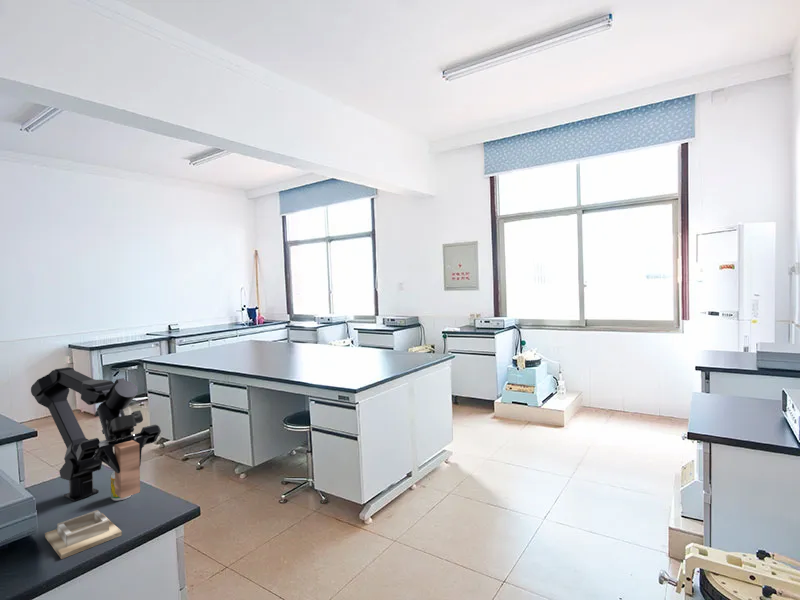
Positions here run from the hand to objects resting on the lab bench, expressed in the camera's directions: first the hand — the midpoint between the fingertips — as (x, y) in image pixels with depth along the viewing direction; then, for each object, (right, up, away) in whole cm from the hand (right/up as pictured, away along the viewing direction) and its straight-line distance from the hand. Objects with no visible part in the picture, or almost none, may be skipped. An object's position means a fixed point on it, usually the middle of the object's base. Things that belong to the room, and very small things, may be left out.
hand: (129, 469), depth 112 cm
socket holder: (-7, -14, -7) cm, 17 cm away
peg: (-1, -7, +1) cm, 7 cm away
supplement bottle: (-11, -13, +13) cm, 21 cm away
